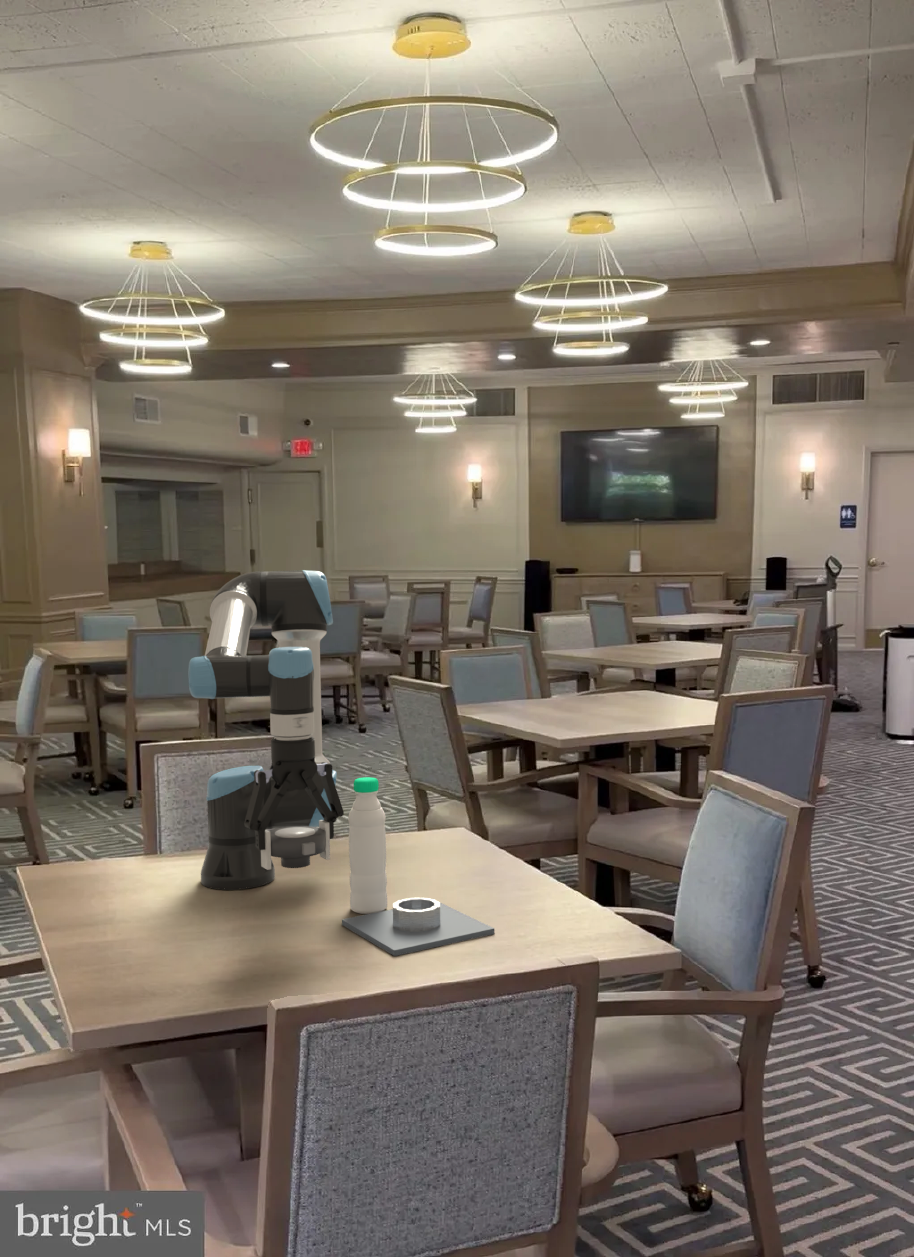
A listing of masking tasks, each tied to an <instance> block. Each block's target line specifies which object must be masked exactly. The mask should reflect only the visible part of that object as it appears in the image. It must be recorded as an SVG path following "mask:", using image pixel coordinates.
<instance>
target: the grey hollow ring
mask: <svg viewBox="0 0 914 1257" xmlns="http://www.w3.org/2000/svg"><path fill="white" fill-rule="evenodd" d="M440 903H441V902H440V901H438V900H437V899H434V898H429V897H423V896H422V897H409V898H408V897H407V898H402V899H398V900H397V901H394V902H393V903H392V909H393V927H395V928H397V929H399V930H404V931H410V932H413V931H427V930H431V929H435V928H437V927H438V926H440Z"/></svg>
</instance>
